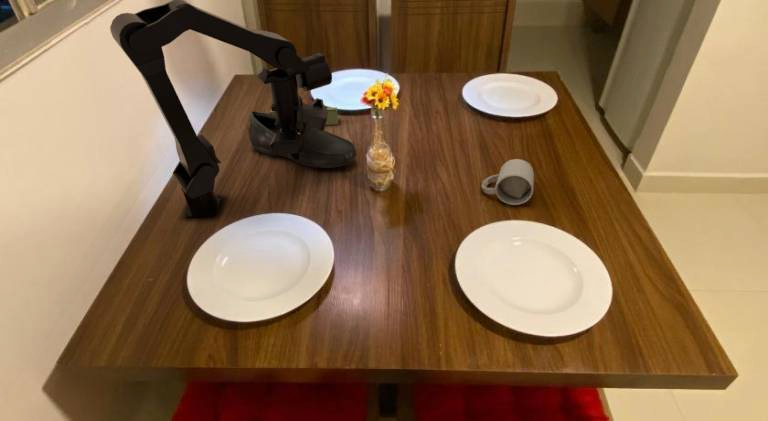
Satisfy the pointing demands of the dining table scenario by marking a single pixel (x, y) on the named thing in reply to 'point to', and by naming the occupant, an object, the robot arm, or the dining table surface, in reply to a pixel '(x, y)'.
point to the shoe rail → (331, 118)
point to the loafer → (316, 146)
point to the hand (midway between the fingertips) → (296, 159)
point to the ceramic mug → (512, 182)
